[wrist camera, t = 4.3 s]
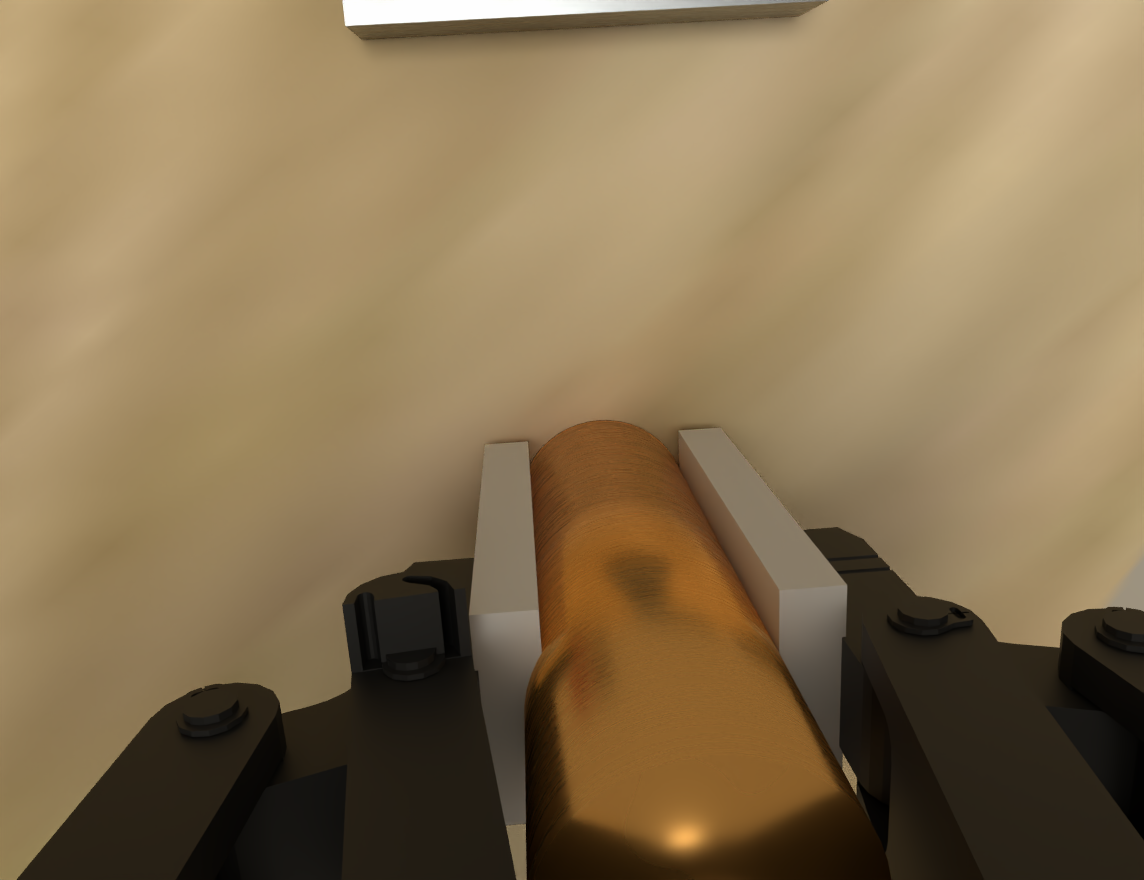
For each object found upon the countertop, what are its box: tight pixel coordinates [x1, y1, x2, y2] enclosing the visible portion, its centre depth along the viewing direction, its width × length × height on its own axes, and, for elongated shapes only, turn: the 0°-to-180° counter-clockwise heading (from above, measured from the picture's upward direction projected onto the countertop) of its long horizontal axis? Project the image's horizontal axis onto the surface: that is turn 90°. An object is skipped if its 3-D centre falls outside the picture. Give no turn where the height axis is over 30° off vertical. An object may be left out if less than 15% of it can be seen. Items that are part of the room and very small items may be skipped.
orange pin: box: [524, 421, 891, 880], centre depth 12 cm, size 3×3×10 cm
